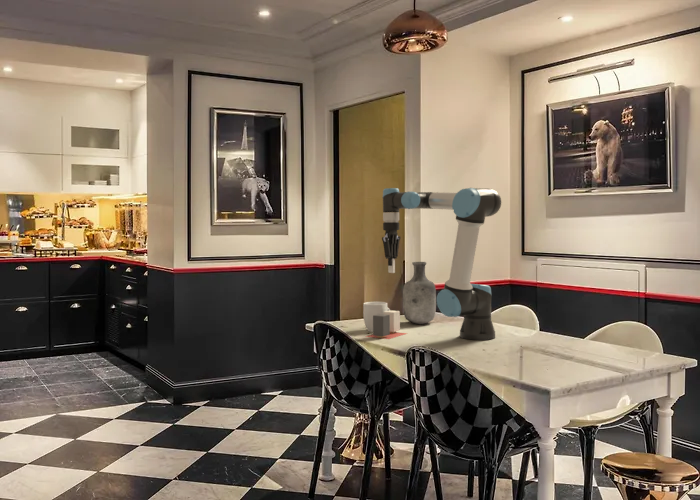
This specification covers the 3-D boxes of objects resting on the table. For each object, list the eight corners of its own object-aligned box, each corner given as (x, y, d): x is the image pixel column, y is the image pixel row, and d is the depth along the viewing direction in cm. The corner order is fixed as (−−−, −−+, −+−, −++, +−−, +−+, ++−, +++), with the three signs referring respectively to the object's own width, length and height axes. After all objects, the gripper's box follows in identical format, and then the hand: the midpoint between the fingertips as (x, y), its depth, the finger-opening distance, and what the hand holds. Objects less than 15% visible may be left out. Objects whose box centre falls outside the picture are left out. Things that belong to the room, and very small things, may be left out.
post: (385, 337, 295) (385, 316, 295) (382, 338, 293) (382, 317, 293) (380, 336, 297) (380, 316, 296) (377, 337, 295) (377, 316, 294)
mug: (382, 327, 322) (382, 300, 321) (398, 330, 314) (398, 302, 313) (358, 331, 313) (358, 303, 312) (374, 334, 304) (374, 305, 303)
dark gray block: (389, 334, 296) (389, 314, 295) (383, 336, 291) (383, 316, 291) (379, 333, 299) (379, 314, 298) (373, 335, 294) (373, 315, 294)
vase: (398, 321, 338) (397, 261, 337) (428, 320, 343) (427, 260, 341) (410, 327, 323) (410, 263, 321) (441, 324, 328) (441, 262, 326)
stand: (408, 334, 304) (408, 311, 303) (388, 340, 290) (388, 316, 290) (385, 331, 311) (385, 309, 310) (365, 337, 297) (365, 314, 297)
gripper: (391, 221, 322) (391, 271, 324) (376, 222, 312) (377, 273, 313) (405, 221, 318) (405, 271, 319) (390, 222, 307) (391, 274, 309)
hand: (391, 272), depth 316 cm, fingers closed
